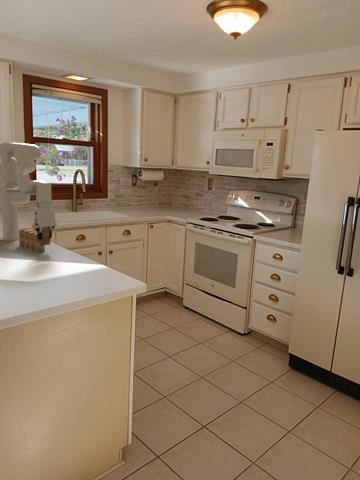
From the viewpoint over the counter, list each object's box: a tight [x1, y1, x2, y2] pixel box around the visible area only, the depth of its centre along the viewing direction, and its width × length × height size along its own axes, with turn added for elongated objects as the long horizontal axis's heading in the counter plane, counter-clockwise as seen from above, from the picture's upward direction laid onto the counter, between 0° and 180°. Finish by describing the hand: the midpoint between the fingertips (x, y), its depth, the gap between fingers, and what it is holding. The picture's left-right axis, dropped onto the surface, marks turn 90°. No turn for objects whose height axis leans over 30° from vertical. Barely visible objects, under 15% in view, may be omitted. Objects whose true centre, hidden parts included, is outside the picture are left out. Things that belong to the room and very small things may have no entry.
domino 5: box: [40, 227, 51, 246], centre depth 198 cm, size 2×5×10 cm, turn 144°
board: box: [16, 246, 53, 256], centre depth 206 cm, size 24×8×1 cm, turn 54°
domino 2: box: [24, 229, 35, 249], centre depth 207 cm, size 2×5×10 cm, turn 144°
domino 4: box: [34, 233, 46, 252], centre depth 202 cm, size 2×5×10 cm, turn 144°
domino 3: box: [29, 230, 38, 251], centre depth 204 cm, size 2×5×10 cm, turn 144°
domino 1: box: [18, 228, 30, 247], centre depth 210 cm, size 2×5×10 cm, turn 144°
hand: (44, 238), depth 198 cm, fingers closed on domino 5, 4 cm apart
